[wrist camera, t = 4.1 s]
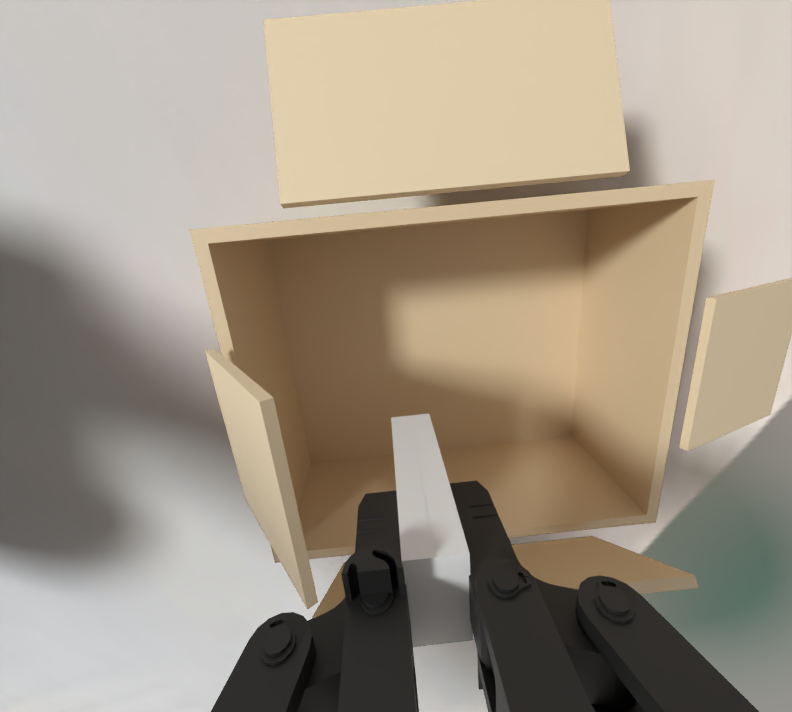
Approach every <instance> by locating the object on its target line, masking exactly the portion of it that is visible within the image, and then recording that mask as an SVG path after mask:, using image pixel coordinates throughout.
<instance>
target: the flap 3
mask: <svg viewBox="0 0 792 712" xmlns="http://www.w3.org/2000/svg"><path fill="white" fill-rule="evenodd" d="M512 547H513V550H514V552H515V554H516V557H517V559H518V560H519V562H520V564H521V565H522V566H523V567H524V568H525V569H527V570H528V571H529V572H530V574H531V575H532V576H534V577H535V578H537V579H539V580H541V581H543V582H546V583H549V584H553V585H557V586H562V587H567V588H573V589H579V586H580V583H581V582H583V581H584V580H585V579H587V578H588V577H593V576H599V575H601V576H606V577H612V578H615V579H617V580H619V581H621V582H624V583H626V584H628V585H629V586H630V587H631V588H633V589H634V590H635V591H637V592H638V593H639V594H647V593H656V592H666V591H674V590H684V589H693V588H698V585H697V581H696V578H695V575H692V574H690V573H687V572H684V571H682V570H679V569H677V568H674V567H671V566H669V565H666V564H663V563H661V562H658V561H656V560H653V559H651V558H648V557H645V556H643V555H640V554H638V553H635V552H632V551H630V550H627V549H624V548H622V547H619V546H617V545H614V544H611V543H609V542H606V541H604V540H601V539H598V538H596V537H593V536H588V537H579V538H569V539H560V540H551V541H541V542H532V543H522V544H513V545H512ZM345 563H346V562H344V564H345ZM344 564H343V566H342V567H341V569H340V571H339V572H338V574H337V576H336V578H335V579H334V581H333V583H332V584H331V586H330V588H329V590H328V591H327V593H326V595H325V596H324V598H323V600H322V601H321V603H320V605H319V607H318V608H317V610H316V612H315V613H314V615H313V617H312V619H313V618H315V617H317V616H319V615H322V614H324V613H326V612H328V611H329V610H331V609H333V608H335V607H336V606H337V605H338V604H339V603H340V602H341V601H342V600H343V599H344V598H345V591H344V586H343V581H342V575H341V573H342V570H343V567H344Z"/></svg>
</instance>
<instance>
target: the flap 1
mask: <svg viewBox="0 0 792 712" xmlns="http://www.w3.org/2000/svg"><path fill="white" fill-rule="evenodd" d="M205 353H206V356H207V360H208V364H209V367H210V371H211V375H212V378H213V382H214V386H215V389H216V393H217V397H218V400H219V404H220V408H221V411H222V415H223V419H224V423H225V426H226V430H227V434H228V437H229V441H230V445H231V448H232V452H233V456H234V459H235V463H236V467H237V470H238V474H239V478H240V481H241V485H242V489H243V492H244V496H245V500H246V502H247V504H248V505H249V507H250V509H251V511H252V512H253V514H254V516H255V518H256V519H257V521H258V523H259V525H260V527H261V528H262V530H263V532H264V534H265V535H266V537H267V539H268V541H269V542H270V544H271V546H272V548H273V549H274V551H275V553H276V555H277V557H278V558H279V560H280V562H281V564H282V565H283V567H284V569H285V571H286V572H287V574H288V576H289V578H290V579H291V581H292V583H293V585H294V586H295V588H296V590H297V592H298V594H299V595H300V597H301V599H302V601H303V602H304V604H305V606H306V608H307V609H309V608H310V607H312V606H313V605H315V604H316V603H317V602H318V600H317V595H316V591H315V586H314V582H313V577H312V572H311V568H310V563H309V559H308V554H307V550H306V545H305V540H304V536H303V531H302V527H301V522H300V517H299V513H298V508H297V504H296V499H295V494H294V490H293V485H292V481H291V476H290V472H289V467H288V462H287V458H286V453H285V449H284V444H283V439H282V435H281V430H280V426H279V421H278V416H277V412H276V407H275V403H274V398H273V397H272V396H271V395H270V394H269V393H268V392H266V391H265V390H264V389H263V388H262V387H260V386H259V385H258V384H257V383H256V382H254V381H253V380H252V379H251V378H250V377H248V376H247V375H246V374H245V373H244V372H242V371H241V370H240V369H239V368H238V367H236V366H235V365H234V364H233V363H232V362H230V361H229V360H228V359H227V358H226V357H224V356H223V355H222V354H221V353H220V352H218V351H217V350H216V349H211V350H206V351H205Z"/></svg>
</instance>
